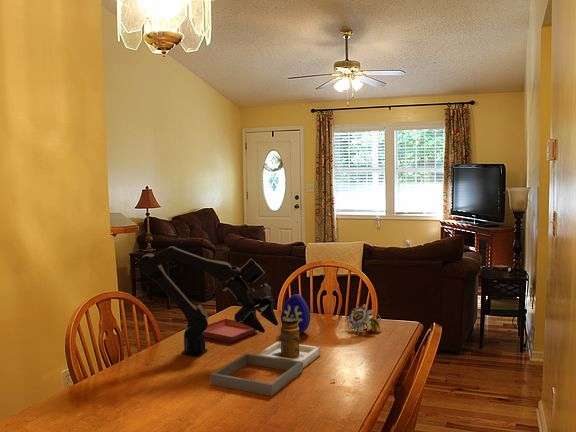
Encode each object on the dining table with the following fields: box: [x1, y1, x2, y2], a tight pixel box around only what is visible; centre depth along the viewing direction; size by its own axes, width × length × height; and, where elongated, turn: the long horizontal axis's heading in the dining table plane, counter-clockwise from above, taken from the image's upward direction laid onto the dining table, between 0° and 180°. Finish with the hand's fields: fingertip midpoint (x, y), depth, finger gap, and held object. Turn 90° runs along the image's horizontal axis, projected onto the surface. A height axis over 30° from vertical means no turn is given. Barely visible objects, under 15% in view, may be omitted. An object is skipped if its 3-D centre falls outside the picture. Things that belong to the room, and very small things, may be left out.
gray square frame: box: [209, 352, 304, 397], centre depth 154 cm, size 20×20×3 cm
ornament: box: [280, 293, 311, 334], centre depth 199 cm, size 11×9×15 cm
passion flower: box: [344, 303, 382, 334], centre depth 202 cm, size 11×11×12 cm
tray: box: [255, 340, 321, 369], centre depth 171 cm, size 16×15×2 cm
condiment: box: [271, 318, 304, 359], centre depth 170 cm, size 7×8×12 cm
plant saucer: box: [202, 318, 258, 343], centre depth 199 cm, size 18×18×3 cm
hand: (270, 328), depth 173 cm, fingers open, 9 cm apart
